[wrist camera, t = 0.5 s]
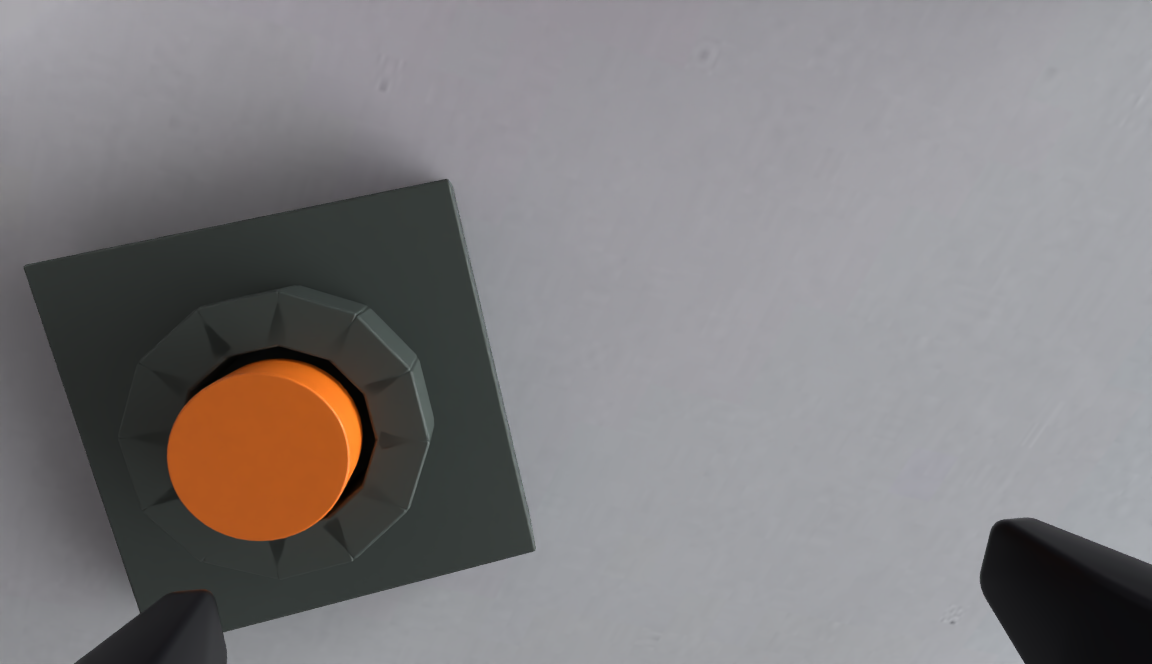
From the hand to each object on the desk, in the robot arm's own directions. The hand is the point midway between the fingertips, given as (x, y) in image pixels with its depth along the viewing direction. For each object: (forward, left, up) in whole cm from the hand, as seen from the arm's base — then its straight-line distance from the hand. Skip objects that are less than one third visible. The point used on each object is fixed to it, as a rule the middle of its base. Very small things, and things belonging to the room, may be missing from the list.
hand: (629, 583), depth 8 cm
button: (+1, +6, -9) cm, 11 cm away
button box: (+1, +6, -13) cm, 14 cm away
